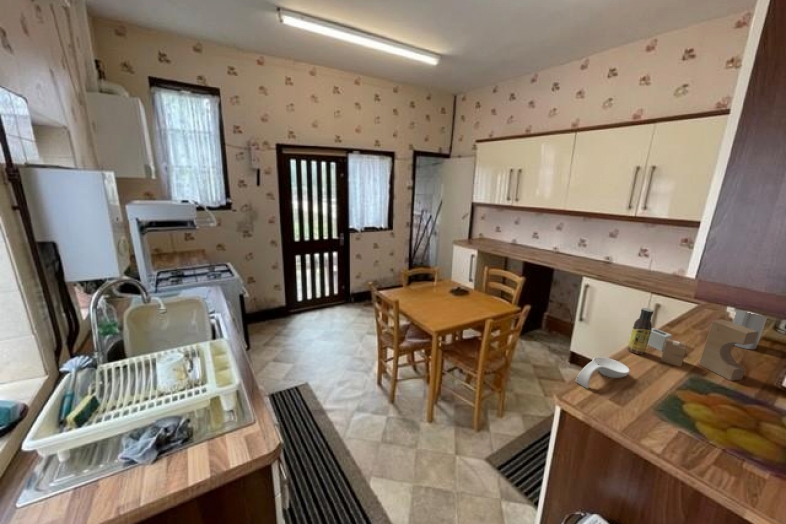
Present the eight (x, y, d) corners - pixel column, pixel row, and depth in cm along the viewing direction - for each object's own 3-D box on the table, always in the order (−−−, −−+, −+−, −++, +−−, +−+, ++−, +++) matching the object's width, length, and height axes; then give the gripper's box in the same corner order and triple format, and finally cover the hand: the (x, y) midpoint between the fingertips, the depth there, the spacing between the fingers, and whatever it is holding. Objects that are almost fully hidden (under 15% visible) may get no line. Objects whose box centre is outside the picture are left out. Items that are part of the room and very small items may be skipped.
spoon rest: (601, 361, 129) (605, 345, 127) (634, 377, 119) (638, 360, 117) (566, 377, 118) (569, 361, 116) (598, 396, 108) (602, 378, 106)
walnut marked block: (661, 355, 134) (666, 337, 131) (680, 360, 130) (685, 342, 128) (661, 361, 129) (666, 343, 127) (680, 366, 125) (686, 348, 123)
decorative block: (742, 379, 118) (759, 332, 112) (730, 381, 117) (747, 333, 111) (708, 363, 128) (723, 318, 123) (697, 364, 127) (711, 319, 122)
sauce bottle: (631, 354, 134) (642, 311, 128) (623, 346, 140) (633, 305, 134) (648, 356, 133) (660, 313, 127) (640, 348, 139) (650, 307, 133)
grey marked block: (650, 341, 145) (653, 327, 143) (667, 348, 139) (671, 334, 137) (643, 343, 143) (647, 329, 141) (661, 351, 137) (665, 336, 135)
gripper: (793, 253, 106) (776, 299, 110) (732, 245, 117) (719, 287, 122) (790, 256, 101) (772, 303, 106) (727, 247, 113) (714, 290, 117)
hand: (744, 294), depth 114 cm, fingers open, 6 cm apart
